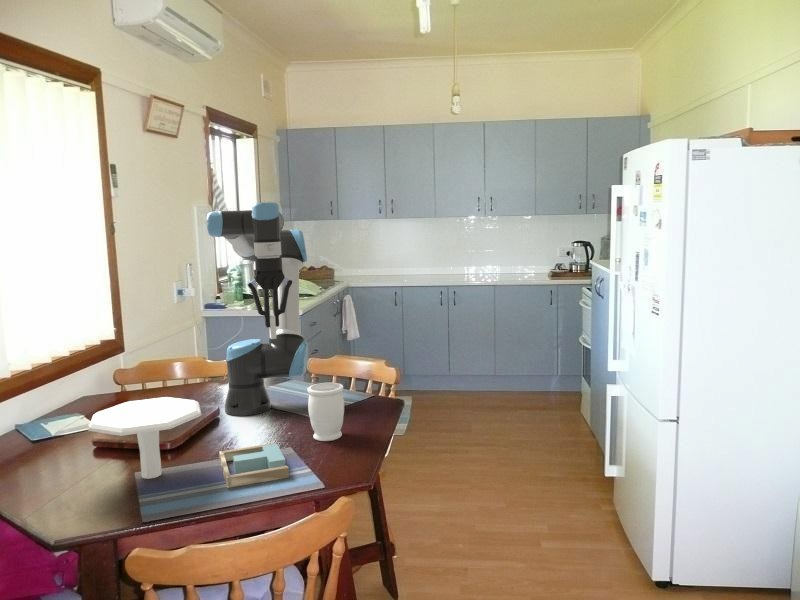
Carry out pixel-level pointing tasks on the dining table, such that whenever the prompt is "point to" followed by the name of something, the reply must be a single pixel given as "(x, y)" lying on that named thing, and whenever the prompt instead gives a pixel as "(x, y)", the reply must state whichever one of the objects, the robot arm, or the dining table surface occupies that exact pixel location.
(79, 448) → the dining table surface
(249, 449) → the dock
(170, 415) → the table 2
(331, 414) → the jar
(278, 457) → the t block
